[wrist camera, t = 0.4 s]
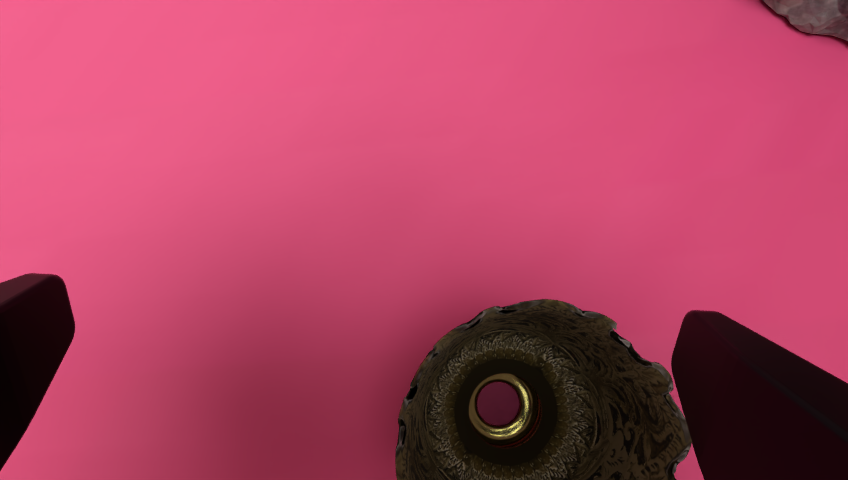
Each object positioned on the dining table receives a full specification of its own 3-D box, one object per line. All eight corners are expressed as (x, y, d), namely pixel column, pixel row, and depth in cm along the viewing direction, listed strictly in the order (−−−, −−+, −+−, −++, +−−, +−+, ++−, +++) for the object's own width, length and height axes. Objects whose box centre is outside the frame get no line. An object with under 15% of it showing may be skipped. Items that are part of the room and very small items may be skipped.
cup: (359, 402, 23) (332, 449, 15) (495, 265, 24) (538, 240, 16) (500, 548, 22) (549, 678, 14) (634, 404, 23) (752, 451, 15)
